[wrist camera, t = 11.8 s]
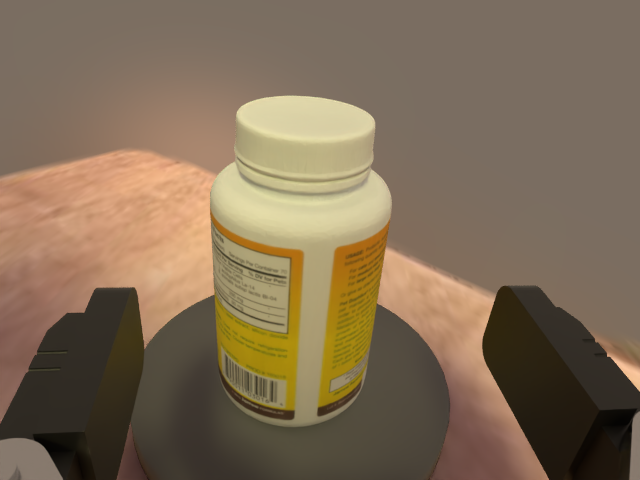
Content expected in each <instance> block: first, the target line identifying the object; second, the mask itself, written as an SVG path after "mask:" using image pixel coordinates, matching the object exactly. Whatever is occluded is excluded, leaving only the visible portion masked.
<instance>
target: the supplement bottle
mask: <svg viewBox="0 0 640 480" xmlns="http://www.w3.org/2000/svg"><path fill="white" fill-rule="evenodd" d="M374 132H375V121H374V119H373V118H372V116H371V115H370V114H369V113H367V112H365V111H364V110H362V109H360V108H358V107H355V106H352V105H350V104H347V103H343V102H339V101H335V100H330V99H324V98H317V97H307V96H306V97H305V96H278V97H268V98H262V99H258V100H254V101H251V102H249V103H247V104H245V105H243V106H242V107H241V108H240V109H239V110H238V112H237V115H236V143H235V146H234V150H235V154H236V161H235V162H233V163H232V164H230V165H228V166H227V167H226V168H224V169H223V170H222V171H221V172H220V173H219V174H218V176H217V177H216V179H215V180H214V182H213V185H212V188H211V192H210V215H211V234H212V252H213V275H214V291H215V310H216V331H217V347H218V367H219V375H220V379H221V383H222V385H223V388H224V390H225V392H226V394H227V395H228V397H229V398H230V399H231V401H232V402H233V403H234V404H235V405H236V406H237V407H238V408H239V409H240V410H242V411H243V412H244V413H246V414H247V415H249V416H251V417H253V418H255V419H257V420H259V421H262V422H264V423H268V424H272V425H276V426H283V427H304V426H310V425H314V424H318V423H322V422H325V421H327V420H329V419H332V418H333V417H335V416H337V415H339V414H340V413H341V412H343V411H344V410H346V409H347V408H348V407H349V406H350V405H351V404H352V403H353V402H354V400H355V399H356V398H357V396H358V395H359V393H360V391H361V389H362V386H363V384H364V380H365V376H366V370H367V364H368V357H369V350H370V344H371V337H372V331H373V325H374V319H375V312H376V305H377V299H378V293H379V286H380V279H381V273H382V267H383V260H384V254H385V248H386V242H387V235H388V229H389V223H390V216H391V207H392V201H391V195H390V191H389V189H388V187H387V185H386V183H385V182H384V181H383V179H382V178H381V177H380V176H379V175H378V174H377V173H375V172H374V171H373V170H371V163H372V162H373V158H374V157H373V142H374V134H375V133H374Z"/></svg>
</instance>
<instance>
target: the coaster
mask: <svg viewBox="0 0 640 480" xmlns="http://www.w3.org/2000/svg"><path fill="white" fill-rule="evenodd" d="M449 412H450V401H449V393H448V387H447V383H446V380H445V376H444V373H443V371H442V369H441V367H440V364H439V362H438V360H437V358H436V357H435V355H434V354H433V352H432V351H431V349H430V347H429V346H428V345H427V344H426V342H425V341H424V340H423V339H422V338H421V336H420V335H419V334H418V333H417V332H416V331H415V330H414V329H413V328H412V327H411V326H409V325H408V324H407V323H406V322H405V321H403V320H402V319H401V318H399V317H398V316H397V315H396V314H394V313H392V312H391V311H389V310H388V309H386V308H384V307H383V306H381V305H379V304H377V305H376V312H375V319H374V325H373V331H372V337H371V344H370V350H369V357H368V364H367V370H366V376H365V380H364V384H363V386H362V389H361V391H360V393H359V395H358V396H357V398H356V399H355V400H354V402H353V403H352V404H351V405H350V406H349V407H348V408H347V409H346V410H344V411H343V412H341V413H340V414H339V415H337V416H335V417H333V418H332V419H329V420H327V421H325V422H322V423H318V424H314V425H310V426H304V427H283V426H276V425H272V424H268V423H264V422H262V421H259V420H257V419H255V418H253V417H251V416H249V415H247V414H246V413H244V412H243V411H242V410H240V409H239V408H238V407H237V406H236V405H235V404H234V403H233V402H232V401H231V399H230V398H229V397H228V395H227V394H226V392H225V390H224V388H223V385H222V383H221V379H220V375H219V367H218V347H217V331H216V310H215V295H213V296H211V297H208V298H206V299H204V300H202V301H200V302H198V303H196V304H194V305H192V306H191V307H189V308H187V309H185V310H184V311H182V312H181V313H180V314H178V315H177V316H176V317H174V318H173V319H171V320H170V321H169V322H168V323H167V324H166V325H165V326H164V327H163V328H162V329H161V330H159V331H158V333H157V334H156V335H155V336H154V337H153V339H152V340H151V341H150V342H149V343H148V345H147V347H146V348H145V350H144V364H143V371H142V376H141V380H140V384H139V388H138V392H137V396H136V401H135V405H134V409H133V413H132V417H131V426H132V432H133V438H134V444H135V448H136V451H137V454H138V457H139V461H140V464H141V466H142V468H143V469H144V471H145V473H146V475H147V477H148V479H149V480H429V479H430V477H431V476H432V473H433V471H434V469H435V466H436V464H437V462H438V459H439V456H440V453H441V449H442V446H443V443H444V440H445V436H446V432H447V427H448V423H449Z"/></svg>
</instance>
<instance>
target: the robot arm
mask: <svg viewBox="0 0 640 480" xmlns="http://www.w3.org/2000/svg"><path fill="white" fill-rule="evenodd" d="M482 349H483V356H484V359H485V362H486V364H487V366H488V368H489V370H490V372H491V374H492V375H493V377H494V379H495V381H496V383H497V385H498V386H499V388H500V390H501V392H502V394H503V396H504V397H505V399H506V401H507V403H508V405H509V407H510V408H511V410H512V412H513V414H514V416H515V418H516V419H517V421H518V423H519V425H520V427H521V429H522V430H523V432H524V434H525V436H526V438H527V439H528V441H529V443H530V445H531V447H532V449H533V450H534V452H535V454H536V456H537V458H538V460H539V461H540V463H541V465H542V467H543V469H544V471H545V472H546V474H547V476H548V478H549V480H640V392H639V391H638V389H637V388H636V387H635V386H634V385H633V383H632V382H631V381H630V380H629V379H628V377H627V376H626V375H625V374H624V373H623V372H622V370H621V369H620V368H619V367H618V366H617V364H616V363H615V362H614V361H613V360H612V359H611V357H607V353H606V351H605V350H604V349H603V348H602V347H601V346H600V344H599V343H598V342H597V343H595V338H594V337H593V336H592V335H591V334H590V333H589V331H588V330H587V329H586V328H585V327H584V325H583V324H582V323H581V322H580V321H578V320H577V319H576V318H574V317H573V316H571V315H570V314H569V313H567V312H566V311H564V310H563V309H561V308H560V307H555V306H554V305H553V304H552V302H551V301H550V300H549V298H548V297H547V296H546V295H545V293H543V291H542V290H541V289H540V288H539V287H537V286H503V287H501V288H500V289H499V291H498V292H497V295H496V298H495V301H494V305H493V308H492V311H491V314H490V317H489V320H488V323H487V326H486V330H485V333H484V336H483V342H482ZM143 364H144V341H143V334H142V326H141V319H140V311H139V303H138V296H137V291H136V289H135V288H96V289H95V290H94V292H93V294H92V296H91V299H90V301H89V303H88V306H87V308H86V310H85V313H67V314H66V315H64V316H63V317H62V318H61V319H60V320H59V321H58V322H57V323H55V324H54V325H53V326H52V327H51V328H50V329H49V330H48V331H47V332H46V334H45V336H44V338H43V340H42V342H41V344H40V346H39V348H38V350H37V355H35V356H34V358H33V360H32V362H31V364H30V366H29V371H28V373H26V374H25V376H24V378H23V380H22V382H21V384H20V386H19V388H18V390H17V392H16V394H15V396H14V398H13V400H12V402H11V404H10V406H9V408H8V410H7V412H6V414H5V416H4V418H3V420H2V422H1V424H0V480H116V479H117V475H118V471H119V467H120V463H121V458H122V454H123V450H124V446H125V442H126V438H127V434H128V429H129V425H130V421H131V417H132V413H133V409H134V405H135V401H136V396H137V392H138V388H139V384H140V380H141V376H142V371H143Z"/></svg>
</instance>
